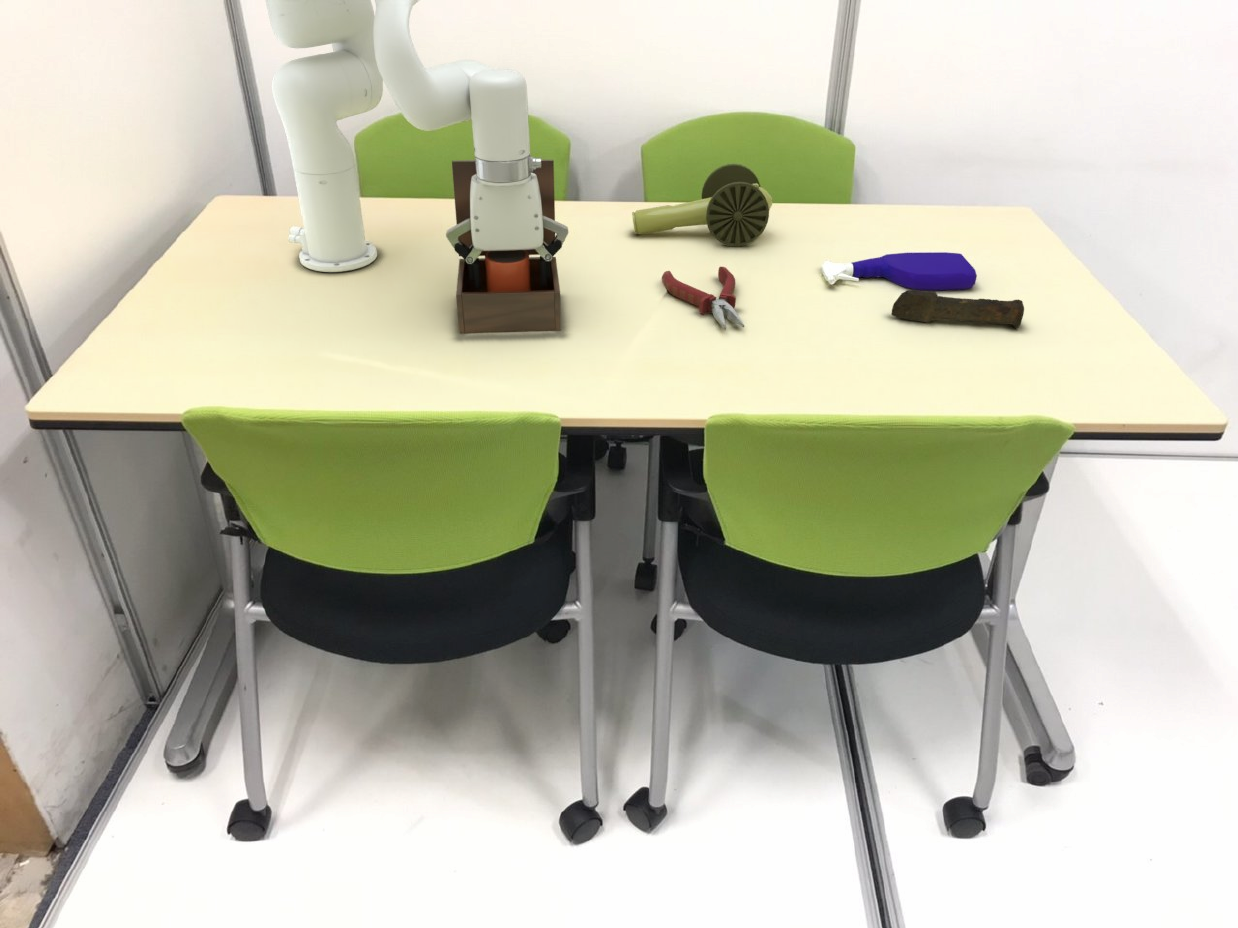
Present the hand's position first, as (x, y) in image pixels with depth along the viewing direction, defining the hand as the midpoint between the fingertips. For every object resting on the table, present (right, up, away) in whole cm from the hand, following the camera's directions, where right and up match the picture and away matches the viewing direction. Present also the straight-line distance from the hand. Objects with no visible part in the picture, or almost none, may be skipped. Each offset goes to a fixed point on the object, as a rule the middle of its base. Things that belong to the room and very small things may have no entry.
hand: (511, 285), depth 137 cm
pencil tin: (0, -4, +3) cm, 5 cm away
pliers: (+29, -2, +8) cm, 30 cm away
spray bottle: (+62, +4, +18) cm, 65 cm away
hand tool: (+67, -5, +5) cm, 67 cm away
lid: (-1, +11, +1) cm, 11 cm away
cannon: (+31, +15, +33) cm, 47 cm away
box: (0, -4, +3) cm, 5 cm away
